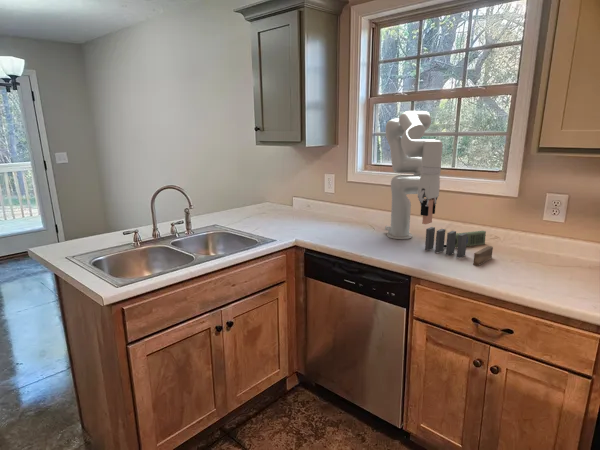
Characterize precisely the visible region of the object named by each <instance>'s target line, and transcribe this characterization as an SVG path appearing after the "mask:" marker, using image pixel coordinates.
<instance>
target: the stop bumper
mask: <svg viewBox="0 0 600 450" xmlns="http://www.w3.org/2000/svg"><path fill="white" fill-rule="evenodd" d="M493 249H494V246H490V245H487V246H485V247H483V248H482V249H479V250H477V251H476V252H474V254H473V264H472V265H473V266H476V267H477V266H478V267H479V266H481V265H482V264H484V263H486V262H487V261H489V260H490V259H492V257H493Z"/></svg>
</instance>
